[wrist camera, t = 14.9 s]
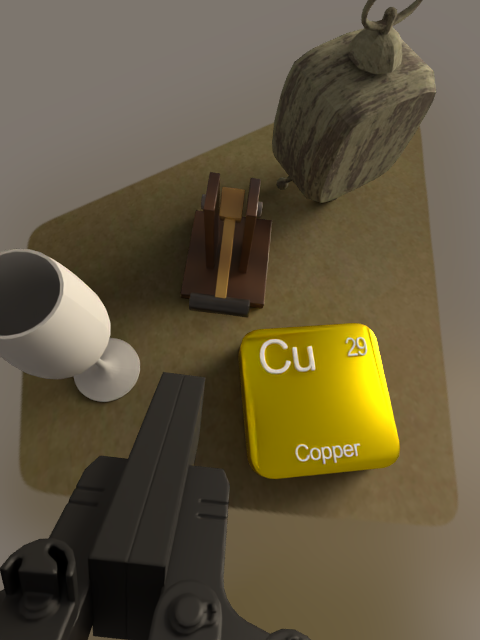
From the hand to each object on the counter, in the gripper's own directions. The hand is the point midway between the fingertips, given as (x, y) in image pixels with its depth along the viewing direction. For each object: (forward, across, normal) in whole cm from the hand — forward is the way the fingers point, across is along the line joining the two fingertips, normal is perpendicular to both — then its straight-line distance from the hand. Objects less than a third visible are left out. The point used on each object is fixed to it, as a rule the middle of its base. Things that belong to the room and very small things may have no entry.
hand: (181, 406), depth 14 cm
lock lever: (+27, 0, -1) cm, 27 cm away
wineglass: (+24, -12, -16) cm, 31 cm away
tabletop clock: (+45, +12, +5) cm, 47 cm away
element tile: (+24, +11, -16) cm, 31 cm away
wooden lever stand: (+35, 0, -4) cm, 36 cm away
